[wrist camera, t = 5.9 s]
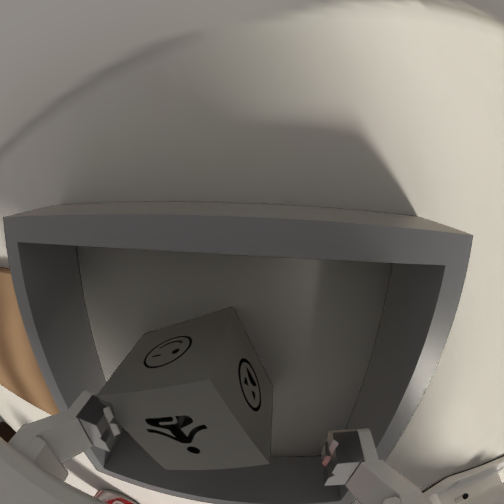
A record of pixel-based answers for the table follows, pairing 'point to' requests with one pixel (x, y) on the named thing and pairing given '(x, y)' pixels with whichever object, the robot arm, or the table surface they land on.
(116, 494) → the soda can
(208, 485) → the bin
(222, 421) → the dice cube
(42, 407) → the brown rectangular mat
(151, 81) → the table surface
